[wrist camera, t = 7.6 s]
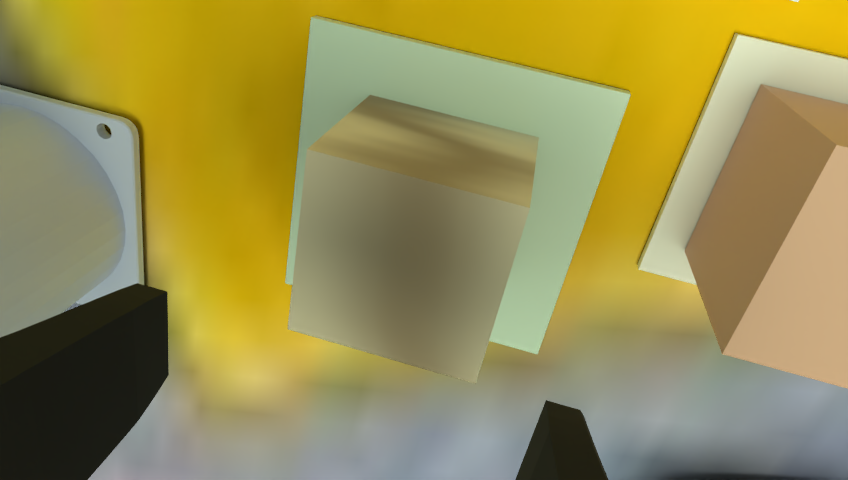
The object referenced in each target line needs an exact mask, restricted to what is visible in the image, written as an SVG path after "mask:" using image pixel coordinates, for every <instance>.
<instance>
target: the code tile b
mask: <svg viewBox="0 0 848 480" xmlns="http://www.w3.org/2000/svg"><path fill="white" fill-rule="evenodd" d="M761 84H763V85H767V86H771V87H775V88H780V89H784V90H788V91H792V92H797V93H801V94H805V95H809V96H814V97H818V98H822V99H826V100H831V101H835V102H839V103H843V104H848V59H847V58H842V57H838V56H833V55H829V54H825V53H820V52H816V51H812V50H807V49H803V48H798V47H794V46H790V45H785V44H781V43H777V42H772V41H768V40H764V39H759V38H755V37H750V36H746V35H742V34H737V33H735V35H734V37H733V39H732V42H731V44H730V46H729V49H728V51H727V54H726V56H725V58H724V61H723V63H722V65H721V68H720V70H719V73H718V75H717V77H716V80H715V82H714V84H713V87H712V89H711V92H710V94H709V96H708V99H707V101H706V103H705V106H704V108H703V110H702V113H701V115H700V118H699V120H698V122H697V125H696V127H695V129H694V132H693V134H692V137H691V139H690V141H689V144H688V146H687V148H686V151H685V153H684V155H683V158H682V160H681V163H680V165H679V167H678V170H677V172H676V174H675V177H674V179H673V182H672V184H671V186H670V189H669V191H668V193H667V196H666V198H665V200H664V203H663V205H662V208H661V210H660V212H659V215H658V217H657V219H656V222H655V224H654V227H653V229H652V231H651V234H650V236H649V238H648V241H647V243H646V245H645V248H644V250H643V253H642V255H641V257H640V260H639V262H638V264H637V265H638V269H639V270H643V271H646V272H650V273H654V274H658V275H661V276H665V277H669V278H673V279H676V280H680V281H684V282H688V283H691V284H695V285H697V284H696V281H695V278H694V275H693V273H692V270H691V267H690V265H689V262H688V259H687V256H686V254H685V249H686V246H687V244H688V242H689V240H690V238H691V236H692V233H693V231H694V229H695V227H696V225H697V222H698V220H699V218H700V216H701V214H702V212H703V209H704V207H705V205H706V203H707V201H708V199H709V196H710V194H711V192H712V190H713V188H714V186H715V183H716V181H717V179H718V177H719V175H720V172H721V170H722V168H723V166H724V164H725V162H726V159H727V157H728V155H729V153H730V151H731V149H732V146H733V144H734V142H735V140H736V138H737V136H738V133H739V131H740V129H741V127H742V125H743V122H744V120H745V118H746V116H747V114H748V112H749V109H750V107H751V105H752V103H753V101H754V99H755V96H756V94H757V92H758V90H759V88H760V85H761Z"/></svg>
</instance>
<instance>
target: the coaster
mask: <svg viewBox="0 0 848 480" xmlns="http://www.w3.org/2000/svg"><path fill="white" fill-rule="evenodd" d="M369 95H374V96H377V97H381V98H385V99H389V100H393V101H397V102H401V103H405V104H409V105H413V106H417V107H421V108H425V109H429V110H433V111H437V112H441V113H445V114H448V115H452V116H456V117H460V118H464V119H468V120H472V121H476V122H480V123H484V124H488V125H492V126H496V127H500V128H504V129H508V130H512V131H516V132H519V133H523V134H527V135H531V136H535V137H539V141H538V149H537V157H536V165H535V173H534V181H533V189H532V197H531V204H530V210H529V213H528V216H527V220H526V223H525V226H524V229H523V232H522V236H521V239H520V242H519V245H518V249H517V252H516V255H515V258H514V262H513V265H512V268H511V271H510V274H509V278H508V281H507V284H506V287H505V291H504V294H503V297H502V300H501V304H500V307H499V310H498V313H497V316H496V320H495V323H494V326H493V329H492V333H491V336H490V339H489V341H492V342H495V343H499V344H502V345H506V346H509V347H513V348H516V349H520V350H524V351H527V352H531V353H534V354H538V352H539V349H540V346H541V343H542V340H543V338H544V335H545V332H546V329H547V326H548V324H549V321H550V318H551V315H552V313H553V310H554V307H555V304H556V301H557V299H558V296H559V293H560V290H561V288H562V285H563V282H564V279H565V276H566V274H567V271H568V268H569V265H570V262H571V260H572V257H573V254H574V251H575V249H576V246H577V243H578V240H579V237H580V235H581V232H582V229H583V226H584V224H585V221H586V218H587V215H588V212H589V210H590V207H591V204H592V201H593V198H594V196H595V193H596V190H597V187H598V185H599V182H600V179H601V176H602V173H603V171H604V168H605V165H606V162H607V159H608V157H609V154H610V151H611V148H612V146H613V143H614V140H615V137H616V134H617V132H618V129H619V126H620V123H621V121H622V118H623V115H624V112H625V109H626V107H627V104H628V101H629V98H630V95H631V94H630V91H627V90H623V89H619V88H615V87H611V86H607V85H602V84H598V83H594V82H590V81H586V80H582V79H577V78H573V77H569V76H565V75H561V74H557V73H553V72H548V71H544V70H540V69H536V68H532V67H528V66H523V65H519V64H515V63H511V62H507V61H503V60H499V59H494V58H490V57H486V56H482V55H478V54H474V53H470V52H465V51H461V50H457V49H453V48H449V47H445V46H440V45H436V44H432V43H428V42H424V41H420V40H416V39H411V38H407V37H403V36H399V35H395V34H391V33H386V32H382V31H378V30H374V29H370V28H366V27H362V26H357V25H353V24H349V23H345V22H341V21H337V20H332V19H328V18H324V17H320V16H313V17H311V23H310V33H309V43H308V54H307V64H306V74H305V85H304V95H303V105H302V116H301V126H300V136H299V147H298V157H297V167H296V178H295V188H294V198H293V209H292V219H291V229H290V239H289V250H288V260H287V270H286V281H285V283H287V284H290V285H292V284H293V274H294V265H295V256H296V246H297V237H298V228H299V218H300V209H301V200H302V190H303V181H304V171H305V162H306V153H307V149H308V148H309V147H310V146H311V145H312V144H313V143H315V142H316V141H317V140H318V139H319V138H320V137H322V136H323V135H324V134H325V133H326V132H327V131H329V130H330V129H331V128H332V127H333V126H334V125H335V124H337V123H338V122H339V121H340V120H341V119H342V118H344V117H345V116H346V115H347V114H348V113H349V112H351V111H352V110H353V109H354V108H355V107H356V106H358V105H359V104H360V103H361V102H362V101H363V100H365V99H366V98H367V97H368V96H369Z"/></svg>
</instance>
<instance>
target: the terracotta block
mask: <svg viewBox="0 0 848 480" xmlns="http://www.w3.org/2000/svg"><path fill="white" fill-rule="evenodd" d="M685 254H686V256H687V259H688V262H689V265H690V267H691V270H692V273H693V275H694V278H695V281H696V284H697V286H698V289H699V292H700V294H701V297H702V300H703V303H704V305H705V308H706V311H707V314H708V316H709V319H710V322H711V324H712V327H713V330H714V333H715V335H716V338H717V341H718V344H719V346H720V349H721V352H722V354H724V355H728V356H731V357H735V358H739V359H742V360H746V361H750V362H753V363H757V364H761V365H764V366H768V367H771V368H775V369H779V370H782V371H786V372H790V373H793V374H797V375H800V376H804V377H808V378H811V379H815V380H819V381H822V382H826V383H830V384H833V385H837V386H840V387H844V388H848V104H843V103H839V102H835V101H831V100H826V99H822V98H818V97H814V96H809V95H805V94H801V93H797V92H792V91H788V90H784V89H780V88H775V87H771V86H767V85H763V84H761V85H760V88H759V90H758V92H757V94H756V96H755V99H754V101H753V103H752V105H751V107H750V109H749V112H748V114H747V116H746V118H745V120H744V122H743V125H742V127H741V129H740V131H739V133H738V136H737V138H736V140H735V142H734V144H733V146H732V149H731V151H730V153H729V155H728V157H727V159H726V162H725V164H724V166H723V168H722V170H721V172H720V175H719V177H718V179H717V181H716V183H715V186H714V188H713V190H712V192H711V194H710V196H709V199H708V201H707V203H706V205H705V207H704V209H703V212H702V214H701V216H700V218H699V220H698V222H697V225H696V227H695V229H694V231H693V233H692V236H691V238H690V240H689V242H688V244H687V246H686V249H685Z"/></svg>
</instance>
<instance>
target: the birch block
mask: <svg viewBox="0 0 848 480" xmlns="http://www.w3.org/2000/svg"><path fill="white" fill-rule="evenodd" d="M538 141H539V137H535V136H531V135H527V134H523V133H519V132H516V131H512V130H508V129H504V128H500V127H496V126H492V125H488V124H484V123H480V122H476V121H472V120H468V119H464V118H460V117H456V116H452V115H448V114H445V113H441V112H437V111H433V110H429V109H425V108H421V107H417V106H413V105H409V104H405V103H401V102H397V101H393V100H389V99H385V98H381V97H377V96H374V95H369V96H368V97H367V98H366V99H365V100H363V101H362V102H361V103H360V104H359V105H358V106H356V107H355V108H354V109H353V110H352V111H351V112H349V113H348V114H347V115H346V116H345V117H344V118H342V119H341V120H340V121H339V122H338V123H337V124H335V125H334V126H333V127H332V128H331V129H330V130H329V131H327V132H326V133H325V134H324V135H323V136H322V137H320V138H319V139H318V140H317V141H316V142H315V143H313V144H312V145H311V146H310V147H309V148H308V149H307V153H306V162H305V171H304V181H303V190H302V200H301V209H300V218H299V228H298V237H297V246H296V256H295V265H294V274H293V284H292V293H291V303H290V312H289V321H288V329H289V330H292V331H296V332H299V333H303V334H306V335H309V336H313V337H316V338H320V339H323V340H327V341H330V342H333V343H337V344H340V345H344V346H347V347H351V348H354V349H357V350H361V351H364V352H368V353H371V354H375V355H378V356H381V357H385V358H388V359H392V360H395V361H399V362H402V363H405V364H409V365H412V366H416V367H419V368H423V369H426V370H429V371H433V372H436V373H440V374H443V375H447V376H450V377H453V378H457V379H460V380H464V381H467V382H471V383H474V384H476V381H477V378H478V375H479V371H480V368H481V365H482V362H483V359H484V355H485V352H486V349H487V346H488V342H489V339H490V336H491V333H492V329H493V326H494V323H495V320H496V316H497V313H498V310H499V307H500V304H501V300H502V297H503V294H504V291H505V287H506V284H507V281H508V278H509V274H510V271H511V268H512V265H513V262H514V258H515V255H516V252H517V249H518V245H519V242H520V239H521V236H522V232H523V229H524V226H525V223H526V220H527V216H528V213H529V210H530V204H531V197H532V189H533V181H534V173H535V165H536V157H537V149H538Z"/></svg>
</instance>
